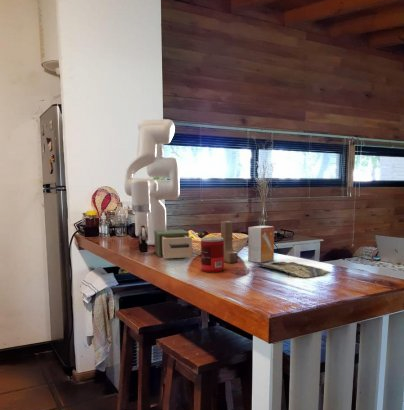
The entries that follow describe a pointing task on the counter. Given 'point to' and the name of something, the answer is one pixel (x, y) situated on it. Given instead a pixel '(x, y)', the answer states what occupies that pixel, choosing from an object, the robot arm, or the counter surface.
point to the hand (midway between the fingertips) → (143, 250)
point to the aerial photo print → (296, 269)
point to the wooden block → (228, 242)
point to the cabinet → (163, 233)
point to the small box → (260, 243)
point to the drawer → (176, 246)
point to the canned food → (212, 254)
